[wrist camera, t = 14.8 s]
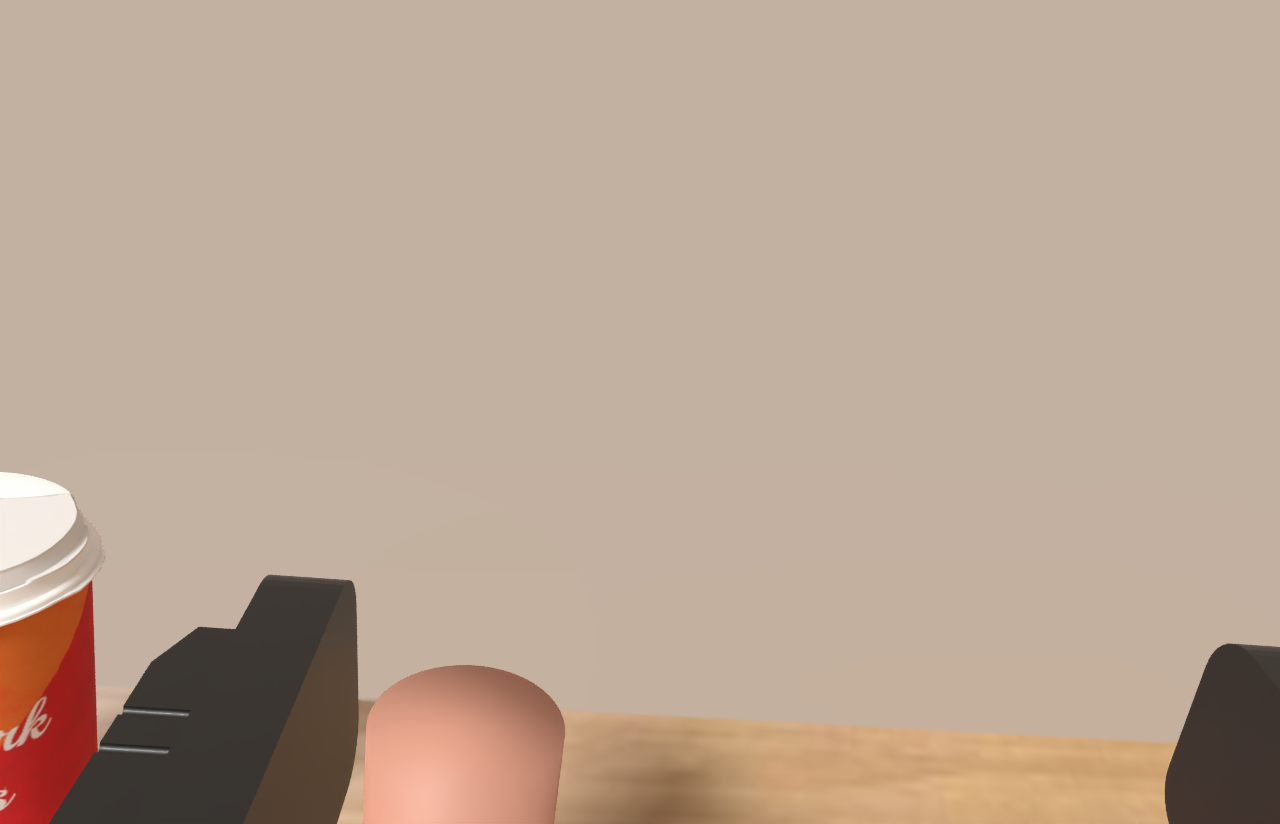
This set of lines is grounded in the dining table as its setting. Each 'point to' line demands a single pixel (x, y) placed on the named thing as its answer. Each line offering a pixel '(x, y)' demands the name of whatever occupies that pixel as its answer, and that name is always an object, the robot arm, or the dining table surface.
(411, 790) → the salmon pink cylinder
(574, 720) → the dining table surface
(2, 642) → the paper cup
